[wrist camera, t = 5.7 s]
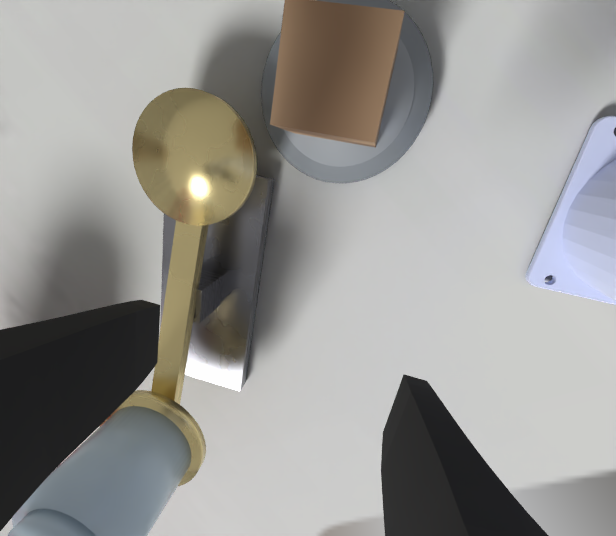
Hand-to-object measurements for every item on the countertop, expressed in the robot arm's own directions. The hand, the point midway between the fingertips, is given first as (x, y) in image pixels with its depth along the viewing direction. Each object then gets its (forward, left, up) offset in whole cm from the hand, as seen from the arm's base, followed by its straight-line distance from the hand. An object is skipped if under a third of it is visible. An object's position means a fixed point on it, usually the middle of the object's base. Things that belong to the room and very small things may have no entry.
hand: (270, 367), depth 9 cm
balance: (+7, +3, -10) cm, 13 cm away
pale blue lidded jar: (+7, +10, -4) cm, 13 cm away
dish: (+1, -9, -10) cm, 14 cm away
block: (+1, -9, -9) cm, 13 cm away
